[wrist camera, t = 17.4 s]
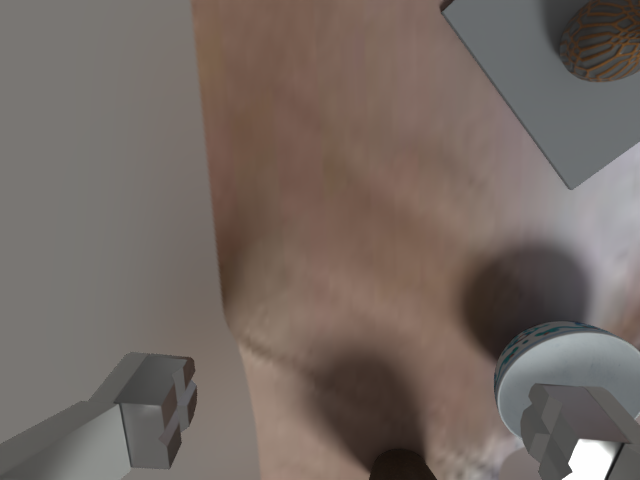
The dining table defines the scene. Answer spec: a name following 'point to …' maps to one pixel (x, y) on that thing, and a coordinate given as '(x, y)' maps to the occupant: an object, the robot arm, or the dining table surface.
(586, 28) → the vase
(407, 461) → the plant pot
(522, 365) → the chinaware
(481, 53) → the mat
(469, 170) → the dining table surface
